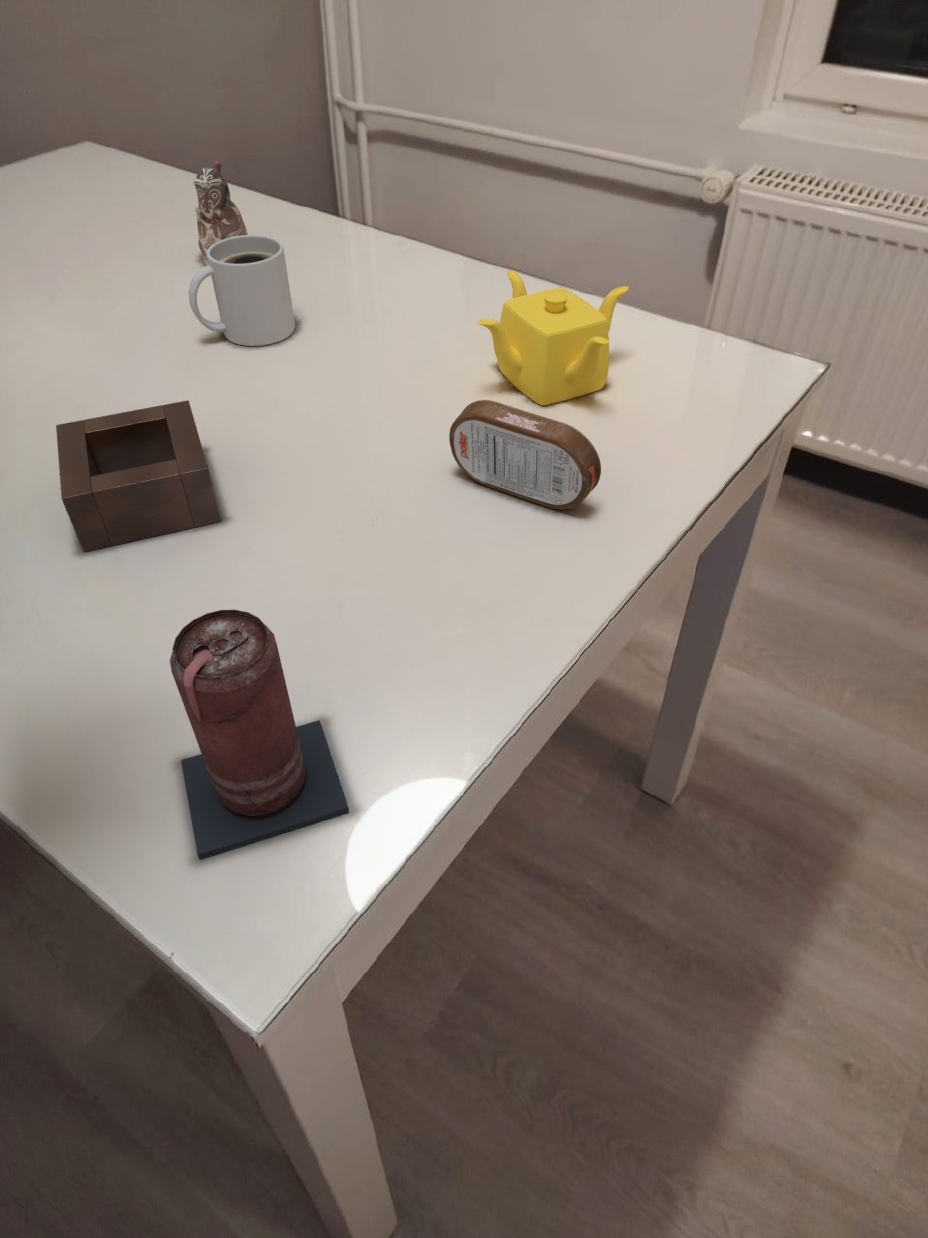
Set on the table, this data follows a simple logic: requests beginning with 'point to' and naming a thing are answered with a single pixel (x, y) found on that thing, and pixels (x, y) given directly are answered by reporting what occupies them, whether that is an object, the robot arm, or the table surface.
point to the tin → (524, 454)
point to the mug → (248, 290)
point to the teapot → (553, 342)
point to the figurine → (215, 210)
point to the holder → (134, 475)
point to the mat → (310, 805)
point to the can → (239, 710)
